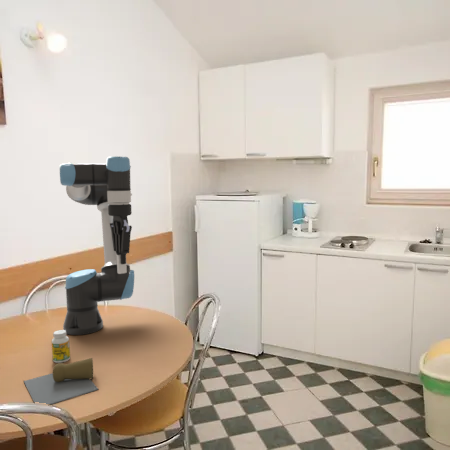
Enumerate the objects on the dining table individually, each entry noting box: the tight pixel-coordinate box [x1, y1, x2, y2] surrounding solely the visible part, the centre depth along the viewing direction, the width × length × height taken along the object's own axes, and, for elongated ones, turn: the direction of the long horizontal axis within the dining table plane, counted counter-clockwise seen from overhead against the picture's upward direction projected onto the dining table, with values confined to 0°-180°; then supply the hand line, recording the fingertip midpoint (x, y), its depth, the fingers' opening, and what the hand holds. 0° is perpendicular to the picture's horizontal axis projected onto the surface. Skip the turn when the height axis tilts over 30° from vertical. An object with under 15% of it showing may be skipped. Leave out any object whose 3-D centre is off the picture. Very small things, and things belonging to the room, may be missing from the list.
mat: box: [23, 372, 99, 405], centre depth 116 cm, size 18×16×1 cm
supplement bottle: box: [51, 329, 71, 364], centre depth 133 cm, size 5×5×10 cm
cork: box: [52, 357, 94, 382], centre depth 119 cm, size 6×6×11 cm
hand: (122, 272), depth 136 cm, fingers closed
